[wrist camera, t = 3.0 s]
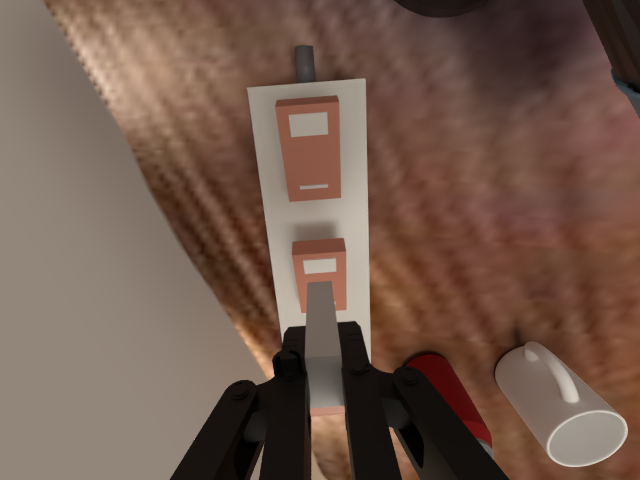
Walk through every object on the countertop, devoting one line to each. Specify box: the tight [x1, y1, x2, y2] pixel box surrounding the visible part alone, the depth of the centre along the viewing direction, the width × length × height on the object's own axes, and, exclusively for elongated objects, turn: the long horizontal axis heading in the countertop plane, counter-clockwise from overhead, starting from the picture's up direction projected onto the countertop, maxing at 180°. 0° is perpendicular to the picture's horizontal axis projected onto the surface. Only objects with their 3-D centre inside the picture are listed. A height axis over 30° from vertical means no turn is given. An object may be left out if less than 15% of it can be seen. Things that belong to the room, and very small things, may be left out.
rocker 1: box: [275, 95, 341, 202], centre depth 25 cm, size 8×5×2 cm, turn 4°
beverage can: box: [406, 355, 494, 460], centre depth 35 cm, size 7×7×12 cm
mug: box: [495, 341, 628, 467], centre depth 36 cm, size 12×8×10 cm
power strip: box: [247, 46, 371, 363], centre depth 32 cm, size 37×10×5 cm, turn 4°
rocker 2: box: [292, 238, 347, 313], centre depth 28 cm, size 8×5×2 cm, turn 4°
